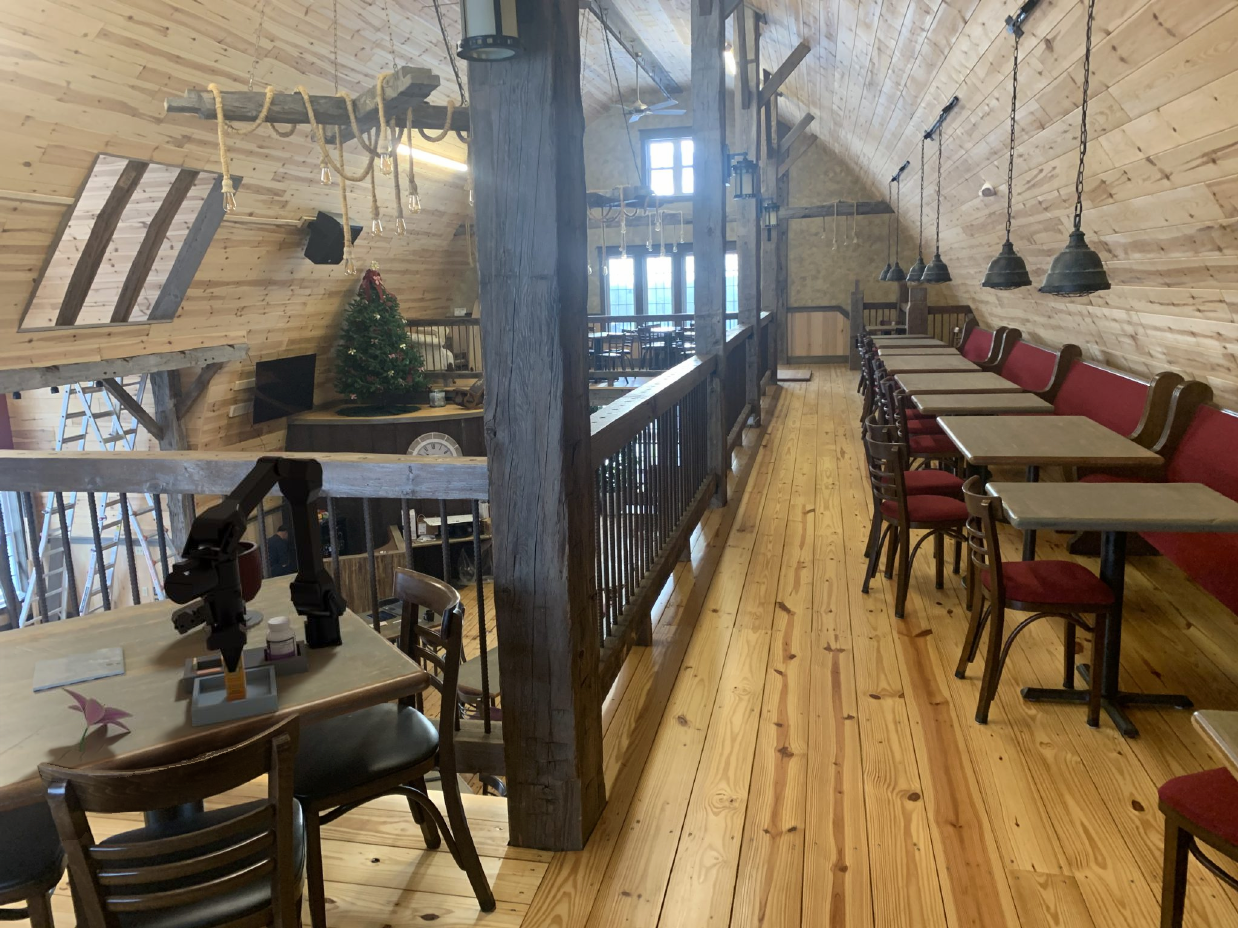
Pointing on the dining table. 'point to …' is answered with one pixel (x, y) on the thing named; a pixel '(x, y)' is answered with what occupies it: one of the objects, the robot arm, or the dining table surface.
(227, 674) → the supplement box
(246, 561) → the mate gourd
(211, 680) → the tray
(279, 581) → the dining table surface
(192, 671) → the block
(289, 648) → the pill bottle
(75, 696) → the lily
